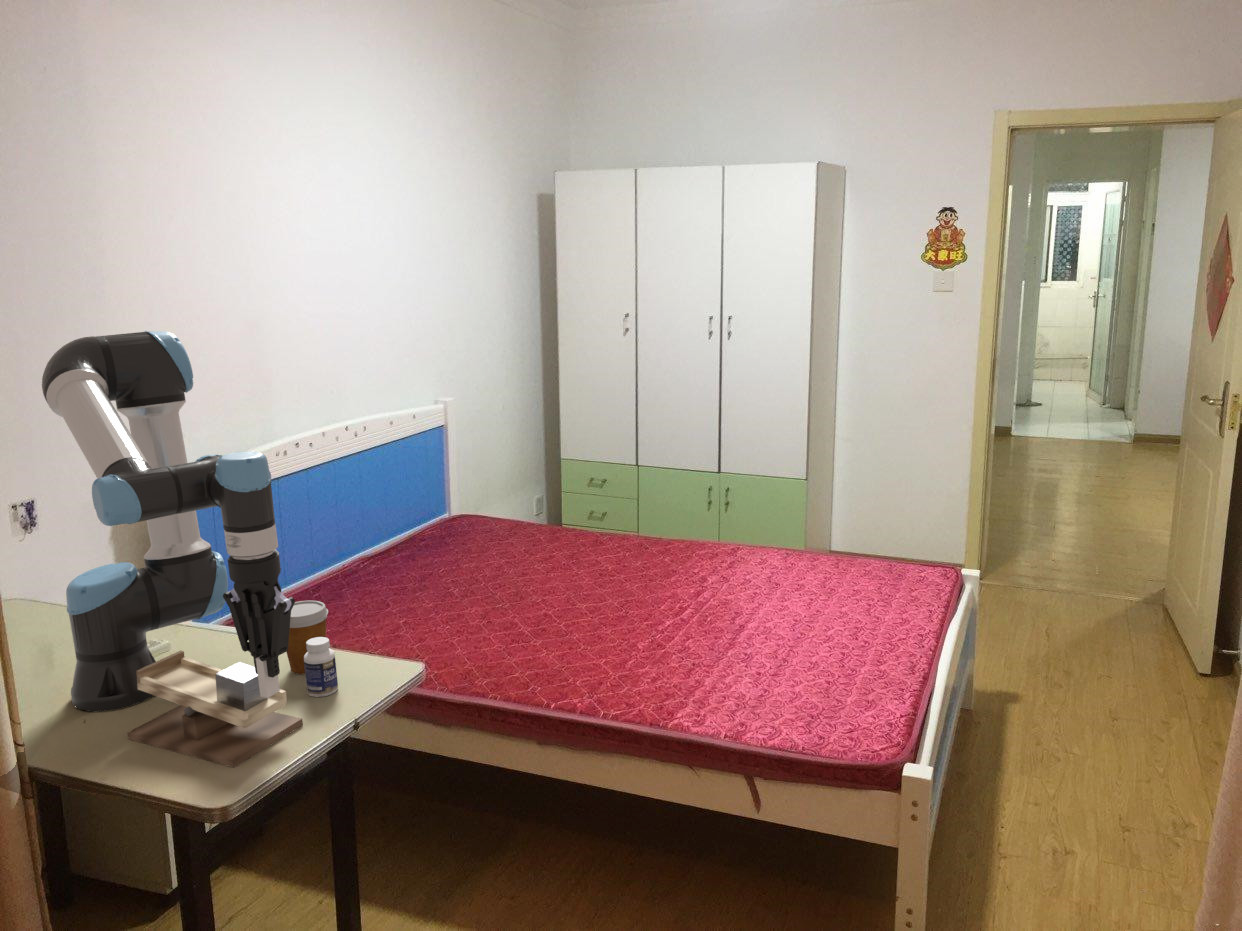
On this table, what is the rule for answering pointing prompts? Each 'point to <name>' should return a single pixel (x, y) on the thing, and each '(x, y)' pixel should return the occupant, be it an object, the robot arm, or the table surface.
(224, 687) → the block
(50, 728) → the table surface
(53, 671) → the table surface
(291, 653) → the disposable coffee cup
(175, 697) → the balance beam
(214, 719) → the stand
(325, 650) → the pill bottle
